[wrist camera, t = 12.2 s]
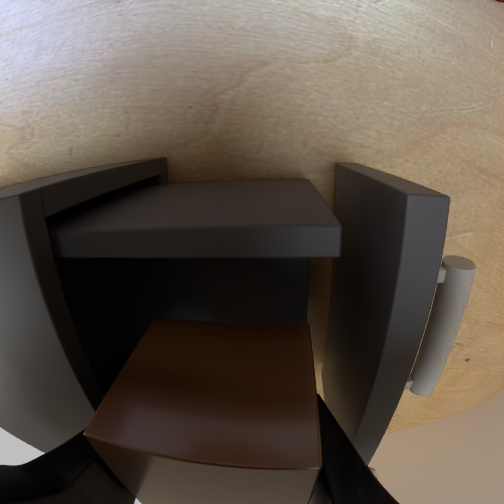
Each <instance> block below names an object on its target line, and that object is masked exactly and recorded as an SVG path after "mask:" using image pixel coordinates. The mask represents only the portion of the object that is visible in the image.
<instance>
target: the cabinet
mask: <svg viewBox="0 0 504 504" xmlns="http://www.w3.org/2000/svg"><path fill="white" fill-rule="evenodd" d="M164 184H168V178H167V166H166V158H165V157H160V158H152V159H144V160H136V161H129V162H122V163H115V164H109V165H103V166H97V167H91V168H86V169H80V170H75V171H70V172H65V173H60V174H56V175H51V176H47V177H42V178H38V179H34V180H30V181H26V182H22V183H18V184H14V185H10V186H6V187H3V188H0V427H1V428H3V429H4V430H6V431H7V432H9V433H10V434H12V435H14V436H15V437H17V438H19V439H20V440H22V441H24V442H26V443H27V444H29V445H31V446H33V447H35V448H37V449H38V450H40V451H42V452H45V453H47V452H49V451H51V450H53V449H54V448H56V447H58V446H60V445H61V444H63V443H64V442H66V441H67V440H69V439H70V438H72V437H73V436H75V435H76V434H79V432H80V431H82V430H83V429H85V428H86V427H87V426H88V424H89V423H90V421H91V419H92V418H93V416H94V414H95V413H96V411H97V409H98V407H99V406H100V404H101V402H102V401H103V399H104V397H105V395H104V393H103V391H102V389H101V387H100V385H99V383H98V381H97V379H96V377H95V374H94V372H93V370H92V368H91V365H90V363H89V361H88V359H87V356H86V354H85V351H84V349H83V346H82V344H81V341H80V339H79V336H78V334H77V331H76V328H75V326H74V323H73V320H72V317H71V314H70V311H69V308H68V305H67V302H66V299H65V296H64V293H63V290H62V286H61V283H60V279H59V276H58V272H57V268H56V265H55V261H54V257H53V253H52V248H51V244H50V240H49V235H48V230H47V225H46V220H45V218H47V217H50V216H52V215H54V214H56V213H59V212H61V211H63V210H66V209H68V208H71V207H73V206H75V205H78V204H80V203H83V202H85V201H88V200H90V199H93V198H95V197H98V196H101V195H103V194H106V193H109V192H111V191H114V190H117V189H122V188H131V187H141V186H152V185H164Z"/></svg>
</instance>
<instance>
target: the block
mask: <svg viewBox="0 0 504 504" xmlns="http://www.w3.org/2000/svg"><path fill="white" fill-rule="evenodd" d="M84 436H85V437H86V438H87V440H88V441H89V442H90V444H91V445H92V447H93V448H94V449H95V451H96V452H97V453H98V454H99V456H100V457H101V458H102V459H103V461H104V462H105V463H106V464H107V466H108V467H109V468H110V469H111V471H112V472H113V473H114V474H115V475H116V476H117V478H118V479H119V480H120V481H121V482H122V483H123V484H124V485H125V487H126V488H127V489H128V490H129V491H130V492H131V493H132V494H133V495H134V496H135V497H136V498H137V499H138V500H139V501H140V502H141V503H142V504H309V503H310V500H311V498H312V495H313V492H314V489H315V486H316V484H317V481H318V478H319V475H320V472H321V469H322V452H321V438H320V424H319V412H318V401H317V390H316V380H315V370H314V360H313V351H312V342H311V334H310V325H309V323H246V322H213V321H191V320H174V319H159V318H155V319H154V320H153V322H152V323H151V325H150V326H149V328H148V329H147V331H146V332H145V334H144V335H143V337H142V338H141V340H140V341H139V343H138V345H137V346H136V348H135V349H134V351H133V352H132V354H131V356H130V357H129V359H128V360H127V362H126V363H125V365H124V367H123V368H122V370H121V371H120V373H119V375H118V376H117V378H116V379H115V381H114V383H113V384H112V386H111V388H110V389H109V391H108V393H107V394H106V396H105V397H104V399H103V401H102V402H101V404H100V406H99V407H98V409H97V411H96V413H95V414H94V416H93V418H92V419H91V421H90V423H89V424H88V426H87V428H86V430H85V431H84Z"/></svg>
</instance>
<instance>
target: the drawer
mask: <svg viewBox="0 0 504 504" xmlns="http://www.w3.org/2000/svg"><path fill="white" fill-rule="evenodd" d="M449 204H450V197H449V196H447V195H445V194H442V193H440V192H437V191H435V190H432V189H430V188H427V187H424V186H422V185H419V184H417V183H414V182H411V181H408V180H406V179H403V178H400V177H397V176H394V175H392V174H389V173H386V172H383V171H380V170H377V169H374V168H371V167H367V166H364V165H361V164H357V163H336V208H335V215H334V214H333V212H332V211H331V210H330V208H329V207H328V205H327V204H326V203H325V201H324V200H323V198H322V197H321V196H320V194H319V193H318V192H317V190H316V189H315V187H314V186H313V185H312V183H311V182H310V180H309V179H259V180H229V181H208V182H191V183H177V184H164V185H152V186H141V187H131V188H122V189H117V190H114V191H111V192H109V193H106V194H103V195H101V196H98V197H95V198H93V199H90V200H88V201H85V202H83V203H80V204H78V205H75V206H73V207H71V208H68V209H66V210H63V211H61V212H59V213H56V214H54V215H52V216H50V217H47V218H45V220H46V225H47V230H48V235H49V240H50V244H51V248H52V253H53V257H54V261H55V265H56V268H57V272H58V276H59V279H60V283H61V286H62V290H63V293H64V296H65V299H66V302H67V305H68V308H69V311H70V314H71V317H72V320H73V323H74V326H75V328H76V331H77V334H78V336H79V339H80V341H81V344H82V346H83V349H84V351H85V354H86V356H87V359H88V361H89V363H90V365H91V368H92V370H93V372H94V374H95V377H96V379H97V381H98V383H99V385H100V387H101V389H102V391H103V393H104V395H105V396H106V394H107V393H108V391H109V389H110V388H111V386H112V384H113V383H114V381H115V379H116V378H117V376H118V375H119V373H120V371H121V370H122V368H123V367H124V365H125V363H126V362H127V360H128V359H129V357H130V356H131V354H132V352H133V351H134V349H135V348H136V346H137V345H138V343H139V341H140V340H141V338H142V337H143V335H144V334H145V332H146V331H147V329H148V328H149V326H150V325H151V323H152V322H153V320H154V319H155V318H159V319H174V320H191V321H213V322H246V323H306V320H307V302H308V282H309V258H333V268H332V282H331V294H330V305H329V315H328V325H327V334H326V342H325V350H324V358H323V366H322V373H321V375H322V383H323V392H324V400H325V404H326V406H327V407H328V409H329V410H330V412H331V413H332V415H333V416H334V417H335V419H336V420H337V422H338V423H339V425H340V426H341V428H342V429H343V431H344V432H345V434H346V435H347V437H348V438H349V440H350V441H351V443H352V444H353V446H354V447H355V448H356V450H357V451H358V453H359V454H360V456H361V457H362V459H363V460H364V462H365V463H366V465H367V466H368V464H369V462H370V461H371V458H372V457H373V455H374V453H375V451H376V449H377V447H378V446H379V444H380V442H381V440H382V438H383V436H384V434H385V432H386V429H387V427H388V425H389V423H390V421H391V419H392V417H393V414H394V412H395V410H396V408H397V405H398V403H399V401H400V398H401V396H402V393H403V391H404V389H409V390H410V391H411V392H412V393H414V394H416V395H419V396H426V395H429V394H431V393H432V392H433V390H434V388H435V386H436V384H437V382H438V380H439V377H440V375H441V373H442V370H443V368H444V366H445V363H446V361H447V358H448V356H449V353H450V351H451V348H452V345H453V343H454V340H455V337H456V334H457V332H458V329H459V326H460V323H461V320H462V317H463V313H464V310H465V307H466V304H467V300H468V297H469V293H470V289H471V286H472V282H473V278H474V273H475V269H476V265H475V264H474V263H473V262H472V261H470V260H469V259H466V258H464V257H460V256H453V255H450V256H445V257H444V258H443V259H442V254H443V248H444V242H445V236H446V229H447V221H448V213H449ZM441 260H442V264H441ZM436 284H437V288H436ZM435 289H436V292H435ZM434 293H435V296H434ZM433 297H434V300H433ZM432 301H433V304H432ZM431 305H432V308H431ZM430 309H431V312H430ZM429 313H430V316H429ZM428 316H429V319H428ZM427 320H428V323H427ZM426 324H427V326H426ZM425 327H426V330H425ZM424 331H425V333H424ZM423 334H424V336H423ZM422 337H423V340H422ZM421 340H422V343H421ZM420 344H421V346H420ZM419 347H420V349H419ZM418 350H419V352H418ZM417 353H418V355H417ZM416 356H417V358H416ZM415 359H416V361H415ZM414 362H415V364H414ZM413 364H414V366H413ZM412 367H413V369H412ZM411 370H412V372H411ZM410 373H411V375H410ZM366 465H365V466H366Z"/></svg>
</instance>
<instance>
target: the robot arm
mask: <svg viewBox="0 0 504 504" xmlns="http://www.w3.org/2000/svg"><path fill="white" fill-rule="evenodd" d="M317 401H318V412H319V424H320V438H321V452H322V469H321V472H320V475H319V478H318V481H317V484H316V486H315V489H314V492H313V495H312V498H311V500H310V503H309V504H399V503H398V502H397V501H396V500H395V499H394V498H393V497H392V496H391V495H390V494H389V492H388V491H387V490H386V489H385V488H384V487H383V486H382V485H381V484H380V482H379V481H378V480H377V478H376V477H375V476H374V474H373V473H372V472H371V470H370V469H369V467H368V466H367V465H366V463H365V462H364V460H363V459H362V457H361V456H360V454H359V453H358V451H357V450H356V448H355V447H354V446H353V444H352V443H351V441H350V440H349V438H348V437H347V435H346V434H345V432H344V431H343V429H342V428H341V426H340V425H339V423H338V422H337V420H336V419H335V417H334V416H333V415H332V413H331V412H330V410H329V409H328V407H327V406H326V404H325V403H324V401H323V400H322V398H321V397H320V395H319V394H318V393H317ZM86 428H87V427H86ZM86 428H85V429H83V430H82V431H80V432H79V434H76V435H75V436H73V437H72V438H70V439H69V440H67V441H66V442H64V443H63V444H61V445H60V446H58V447H56V448H54V449H53V450H51V451H49V452H47V453H45V454H43V455H42V456H39V457H38V458H36V459H34V460H32V461H30V462H28V463H25V464H22V465H16V466H10V465H0V504H134V502H135V499H136V497H135V496H134V495H133V494H132V493H131V492H130V491H129V490H128V489H127V488H126V487H125V485H124V484H123V483H122V482H121V481H120V480H119V479H118V478H117V476H116V475H115V474H114V473H113V472H112V471H111V469H110V468H109V467H108V466H107V464H106V463H105V462H104V461H103V459H102V458H101V457H100V456H99V454H98V453H97V452H96V451H95V449H94V448H93V447H92V445H91V444H90V442H89V441H88V440H87V438H86V437H85V436H84V431H85V430H86ZM365 465H366V466H365Z"/></svg>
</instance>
